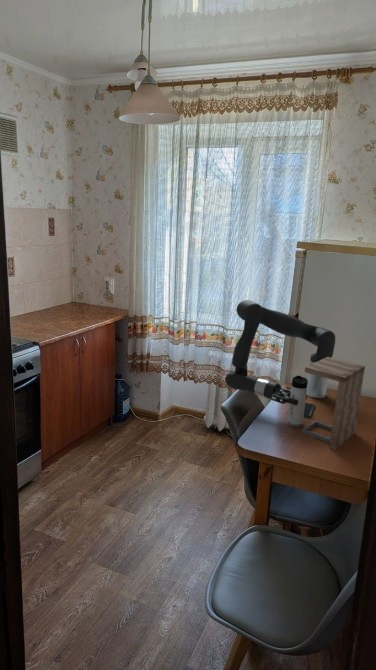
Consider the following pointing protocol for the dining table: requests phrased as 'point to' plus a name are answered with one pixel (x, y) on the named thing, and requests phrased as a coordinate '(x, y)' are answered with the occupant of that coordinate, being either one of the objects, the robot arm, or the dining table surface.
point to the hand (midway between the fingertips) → (302, 400)
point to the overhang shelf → (342, 395)
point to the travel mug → (299, 394)
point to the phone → (308, 410)
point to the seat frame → (315, 435)
